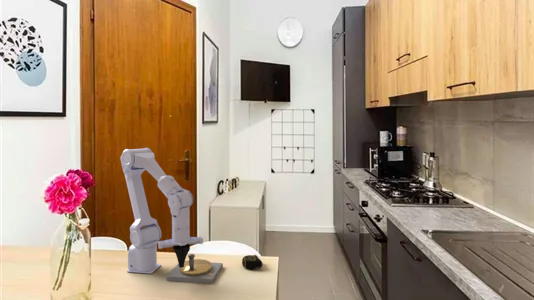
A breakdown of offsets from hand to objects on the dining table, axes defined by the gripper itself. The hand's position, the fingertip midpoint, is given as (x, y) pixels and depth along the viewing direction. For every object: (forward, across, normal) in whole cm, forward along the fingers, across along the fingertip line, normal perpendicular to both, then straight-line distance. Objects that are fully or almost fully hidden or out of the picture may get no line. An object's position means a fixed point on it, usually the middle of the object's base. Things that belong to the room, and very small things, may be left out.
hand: (181, 266), depth 121 cm
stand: (+5, +6, +4) cm, 9 cm away
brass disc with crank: (+3, +6, +4) cm, 8 cm away
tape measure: (+5, +27, +3) cm, 28 cm away
